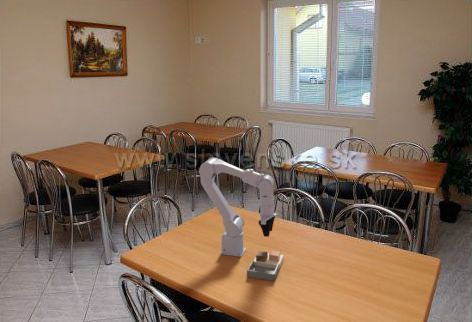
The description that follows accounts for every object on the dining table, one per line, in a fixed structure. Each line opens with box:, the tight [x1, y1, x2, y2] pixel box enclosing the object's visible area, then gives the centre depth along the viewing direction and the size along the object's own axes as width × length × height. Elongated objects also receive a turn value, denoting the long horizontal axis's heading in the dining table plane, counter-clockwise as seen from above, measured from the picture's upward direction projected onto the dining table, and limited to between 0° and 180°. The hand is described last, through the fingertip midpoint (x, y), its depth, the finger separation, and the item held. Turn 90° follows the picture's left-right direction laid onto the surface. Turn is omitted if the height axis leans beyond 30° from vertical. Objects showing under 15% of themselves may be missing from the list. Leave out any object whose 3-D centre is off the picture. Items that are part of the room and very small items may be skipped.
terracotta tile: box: [269, 250, 281, 261], centre depth 166 cm, size 4×4×2 cm
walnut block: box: [255, 250, 269, 262], centre depth 166 cm, size 4×4×2 cm
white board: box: [253, 252, 285, 270], centre depth 167 cm, size 11×9×2 cm
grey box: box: [246, 259, 280, 282], centre depth 159 cm, size 11×9×3 cm
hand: (267, 233), depth 171 cm, fingers open, 5 cm apart
